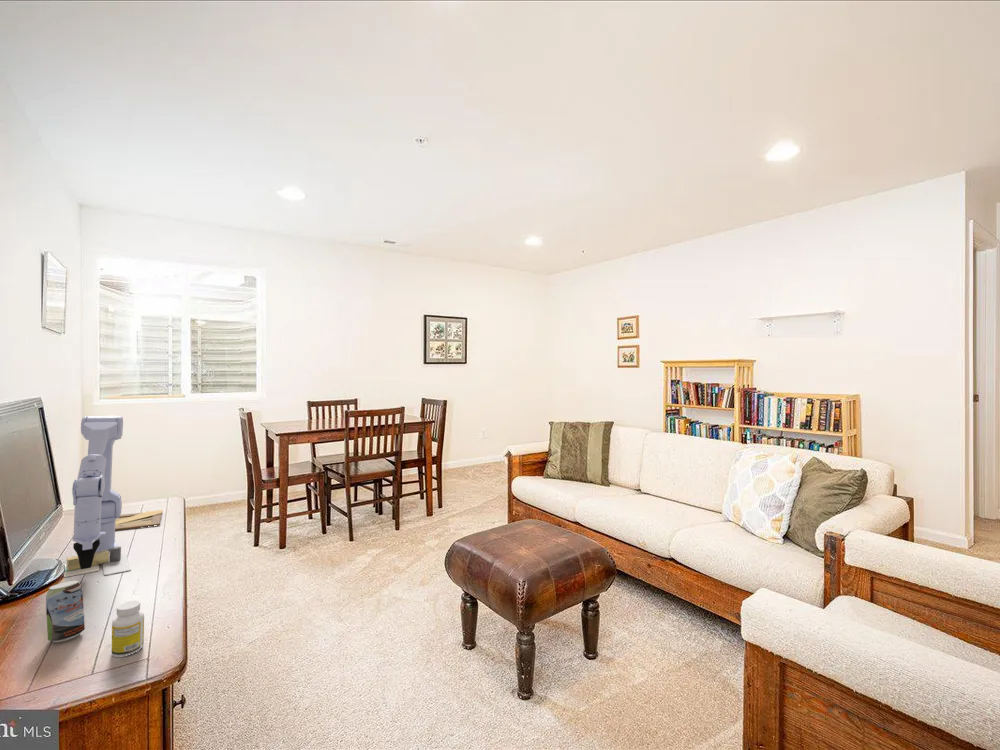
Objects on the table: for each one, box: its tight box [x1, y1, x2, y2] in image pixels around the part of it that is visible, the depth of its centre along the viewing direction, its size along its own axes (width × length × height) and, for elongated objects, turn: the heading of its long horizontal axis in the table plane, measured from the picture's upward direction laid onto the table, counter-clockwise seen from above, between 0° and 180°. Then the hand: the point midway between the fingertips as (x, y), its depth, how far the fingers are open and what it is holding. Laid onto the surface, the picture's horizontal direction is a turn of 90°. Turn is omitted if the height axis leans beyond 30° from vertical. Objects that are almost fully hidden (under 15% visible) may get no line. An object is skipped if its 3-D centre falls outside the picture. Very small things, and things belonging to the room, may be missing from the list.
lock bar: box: [66, 550, 110, 571], centre depth 141 cm, size 9×2×3 cm, turn 140°
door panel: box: [63, 546, 132, 578], centre depth 141 cm, size 16×14×4 cm
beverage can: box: [45, 579, 86, 643], centre depth 105 cm, size 6×7×12 cm
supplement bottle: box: [111, 600, 145, 658], centre depth 101 cm, size 5×5×10 cm
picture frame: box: [115, 509, 163, 532], centre depth 180 cm, size 19×2×24 cm
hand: (85, 567), depth 134 cm, fingers closed
